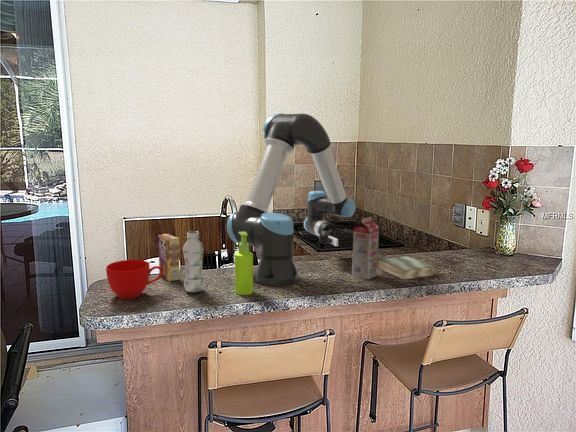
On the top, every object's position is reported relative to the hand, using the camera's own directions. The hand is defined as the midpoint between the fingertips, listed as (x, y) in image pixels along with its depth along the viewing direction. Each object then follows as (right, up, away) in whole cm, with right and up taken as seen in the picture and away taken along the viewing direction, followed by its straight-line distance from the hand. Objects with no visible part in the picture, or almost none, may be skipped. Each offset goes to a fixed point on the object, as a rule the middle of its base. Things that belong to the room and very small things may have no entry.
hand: (352, 241), depth 177 cm
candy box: (-68, -13, -11) cm, 70 cm away
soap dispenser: (-40, -15, -25) cm, 49 cm away
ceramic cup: (-74, -16, -29) cm, 81 cm away
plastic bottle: (-56, -15, -26) cm, 63 cm away
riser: (+20, -11, 0) cm, 23 cm away
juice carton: (+3, -13, -6) cm, 14 cm away
